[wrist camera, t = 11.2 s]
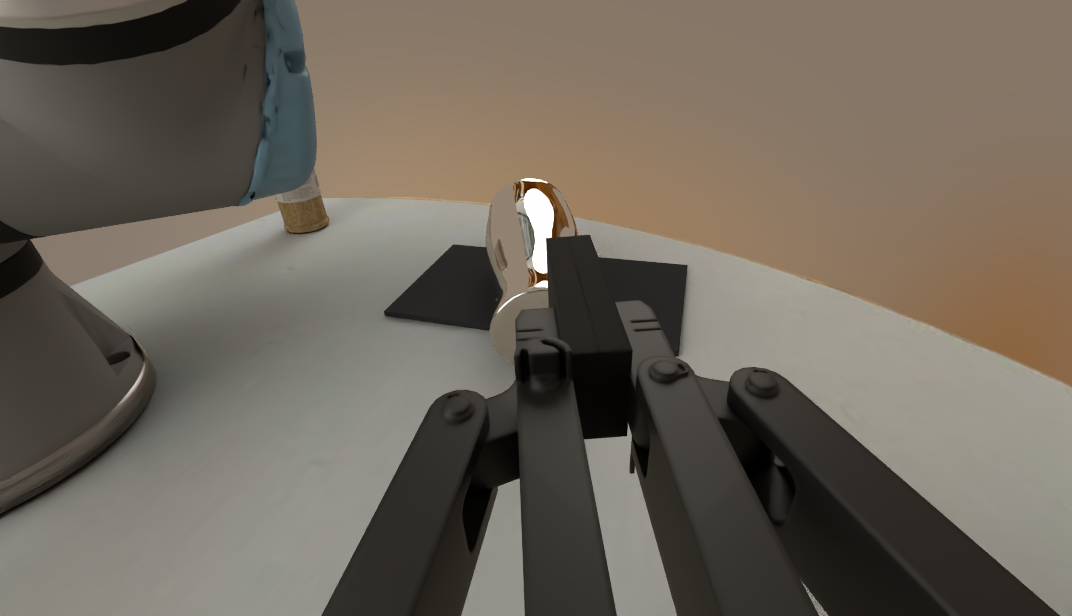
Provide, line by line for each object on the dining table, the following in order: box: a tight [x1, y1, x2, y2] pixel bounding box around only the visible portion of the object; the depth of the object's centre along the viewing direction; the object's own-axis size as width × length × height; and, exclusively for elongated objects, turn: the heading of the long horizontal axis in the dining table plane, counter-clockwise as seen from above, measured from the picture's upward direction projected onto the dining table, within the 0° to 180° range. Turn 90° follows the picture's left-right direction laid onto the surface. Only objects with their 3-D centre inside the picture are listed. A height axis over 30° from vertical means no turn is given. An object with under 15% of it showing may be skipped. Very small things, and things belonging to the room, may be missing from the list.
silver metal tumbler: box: [485, 179, 578, 365], centre depth 34 cm, size 7×7×15 cm
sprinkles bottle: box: [274, 169, 329, 233], centre depth 49 cm, size 5×5×14 cm
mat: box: [384, 245, 687, 356], centre depth 38 cm, size 21×12×1 cm, turn 73°
